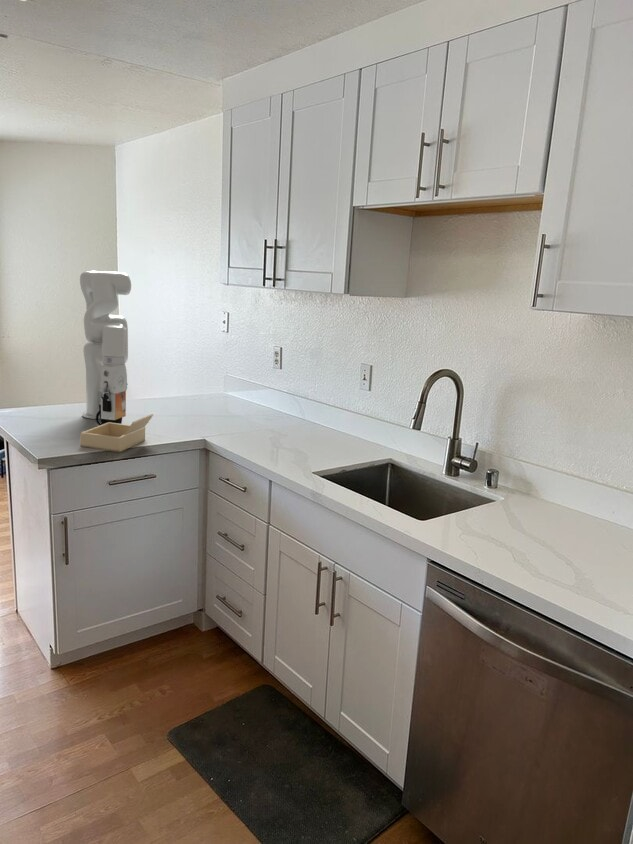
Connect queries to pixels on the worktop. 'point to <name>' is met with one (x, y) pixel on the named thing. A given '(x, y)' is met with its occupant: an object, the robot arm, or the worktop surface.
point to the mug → (105, 419)
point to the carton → (111, 437)
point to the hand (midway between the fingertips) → (113, 408)
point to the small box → (115, 406)
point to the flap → (138, 424)
